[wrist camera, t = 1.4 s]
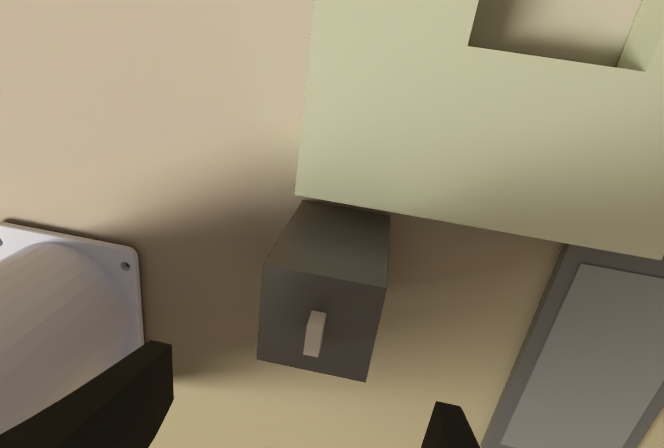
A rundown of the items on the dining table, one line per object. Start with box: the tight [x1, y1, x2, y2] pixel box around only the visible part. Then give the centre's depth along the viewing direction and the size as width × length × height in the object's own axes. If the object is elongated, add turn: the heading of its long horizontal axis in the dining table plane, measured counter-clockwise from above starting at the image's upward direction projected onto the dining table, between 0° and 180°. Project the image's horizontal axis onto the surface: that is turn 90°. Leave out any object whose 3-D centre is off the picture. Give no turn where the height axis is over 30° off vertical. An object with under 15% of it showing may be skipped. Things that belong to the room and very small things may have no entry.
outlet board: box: [294, 0, 664, 260], centre depth 14 cm, size 14×14×2 cm
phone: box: [481, 243, 664, 448], centre depth 20 cm, size 13×7×1 cm, turn 172°
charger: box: [257, 200, 390, 382], centre depth 16 cm, size 4×4×7 cm
